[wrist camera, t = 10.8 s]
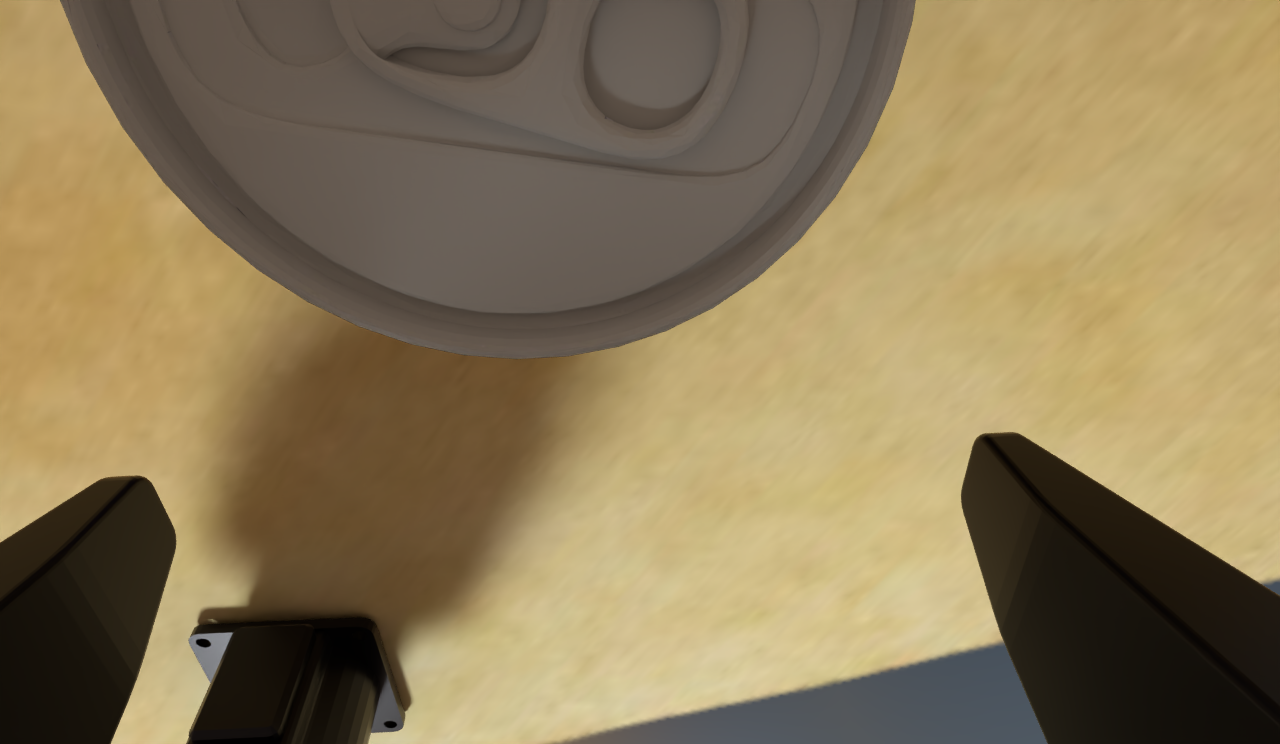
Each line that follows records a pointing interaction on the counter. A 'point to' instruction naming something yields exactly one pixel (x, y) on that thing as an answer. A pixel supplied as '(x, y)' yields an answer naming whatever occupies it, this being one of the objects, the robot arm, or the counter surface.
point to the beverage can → (501, 149)
